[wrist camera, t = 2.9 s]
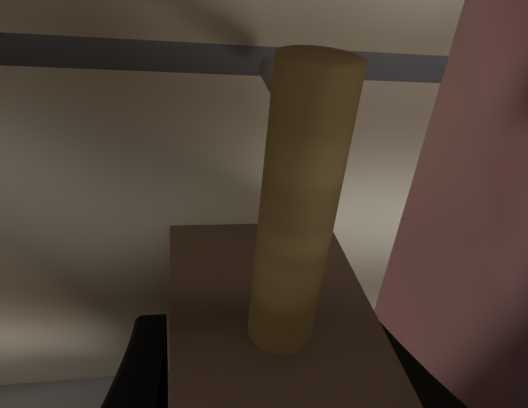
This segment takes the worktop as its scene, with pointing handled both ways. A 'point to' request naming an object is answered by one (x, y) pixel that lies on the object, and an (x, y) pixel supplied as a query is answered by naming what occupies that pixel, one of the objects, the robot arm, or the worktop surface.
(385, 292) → the worktop surface
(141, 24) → the board
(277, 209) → the brown handled block
